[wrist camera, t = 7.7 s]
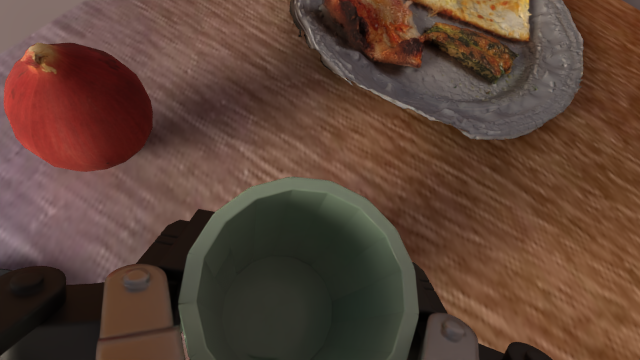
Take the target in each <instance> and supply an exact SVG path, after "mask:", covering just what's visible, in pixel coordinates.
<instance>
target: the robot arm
mask: <svg viewBox="0 0 640 360" xmlns="http://www.w3.org/2000/svg"><path fill="white" fill-rule="evenodd" d="M213 214H215V212H212V211H207V210H202V209H198V210H197V211H196V213H195V214H194V216H193V217H192V218H191V220H190V221H184V220H178V221H176V222H174V223H172V224H170V225H168V226H167V227H166V228H165V229H164V230H163V232H162V233H161V235H159V236H158V238H157V239H156V240H155V243H153V244H152V245H151V246H150V247H149V249H148V250H147V251H146V252H145V253H144V255H143V256H142V257H141V258H140V259H139V261H138V262H137V263H136V264H132V265H127V266H124V267H121V268H119V269H116V270H115V271H113V272H112V273H110V274H109V275H108V276H107V278H106V280H105V282H102V283H94V284H76V285H66V276H65V274H64V273H63V272H62V271H61V270H59V269H56V268H53V267H47V266H33V267H25V268H21V269H17V270H13V271H10V272H8V273H5V274H3V275H1V276H0V360H185V355H184V349H183V343H182V337H181V333H182V331H183V329H182V324H181V319H180V315H179V310H178V305H179V304H178V299H179V294H180V289H181V284H182V279H183V274H184V269H185V264H186V258H187V255H188V254H189V250H190V249H191V247H192V246H193V244H194V243H195V241H196V240H197V238H198V237H199V235H200V233H201V232H202V230H203V229H204V227H205V226H206V224H207V223H208V221H209V220H210V218H211V216H212V215H213ZM412 263H413V266H414V269H415V275H416V286H417V297H418V308H419V315H418V316H419V318H418V321H417V325H416V329H415V332H414V336H413V340H412V343H411V347H410V351H409V354H408V358H407V360H552V359H551V358H550V357H549V356H548V355H546V354H545V353H543V352H542V351H540V350H539V349H537V348H535V347H533V346H531V345H528V344H525V343H521V342H513V343H511V344H509V346H508V348H507V350H506V352H505V354H504V353H501V352H499V351H496V350H494V349H491V348H489V347H486V346H484V345H481V344H479V343H478V339H477V336H476V334H475V333H474V331H473V330H472V329H471V328H470V327H469V326H468V325H467V324H466V323H464V322H463V321H461V320H460V319H458V318H456V317H454V316H452V315H449V314H448V313H447V311H446V310H445V308H444V306H443V304H442V303H441V301H440V299H439V297H438V295H437V294H436V292H435V291H434V288H433V287H432V285H431V283H429V279H428V278H427V276H426V274H425V272H424V271H423V270H422V269H421V268H420V267H419V266H417V265H416V264H415V263H414V262H412Z"/></svg>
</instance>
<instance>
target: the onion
mask: <svg viewBox="0 0 640 360" xmlns="http://www.w3.org/2000/svg"><path fill="white" fill-rule="evenodd" d="M4 109H5V113H6V115H7V117H8V119H9V121H10V124H11V126H12V129H13V131H14V134H15V136H16V138H17V139H18V140H19V141H20V143H21V144H22V145H23V146H24V147H25V148H26V149H28V150H30V151H31V152H33V153H34V154H36V155H37V156H39V157H40V158H42V159H43V160H45V161H46V162H48V163H50V164H51V165H53V166H54V167H60V168H65V169H70V170H75V171H84V172H87V171H95V170H103V169H108V168H110V167H113V166H116V165H118V164H121V163H123V162H126V161H127V160H128V159H129V158H131V157H132V156H133V155H135V154H136V153H137V152H138V151H140V150H141V149H142V147H143V146H144V145H145V143H146V141H147V139H148V137H149V134H150V132H151V130H152V128H153V111H152V106H151V100H150V98H149V96H148V94H147V92H146V90H145V88H144V86H143V85H142V83H141V81H140V80H139V78H138V77H137V75H136V74H135V73H134V72H132V71H131V70H130V69H129V68H128V67H126V66H125V65H124V64H122V63H121V62H120V61H118V60H117V59H116V58H114V57H113V56H112V55H110V54H108V53H106V52H104V51H101V50H97V49H94V48H90V47H86V46H83V45H79V44H75V43H60V44H43V43H36V44H34V45H32V46H31V47H30V48H29V49H27V50H26V52H25V55H24V56H23V57H22V58H21V59H20V60H18V61H17V62H16V63H15V65H14V67H13V68H12V70H11V72H10V74H9V76H8V77H7V79H6V83H5V90H4Z"/></svg>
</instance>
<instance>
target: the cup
mask: <svg viewBox="0 0 640 360" xmlns="http://www.w3.org/2000/svg"><path fill="white" fill-rule="evenodd" d="M178 304H179V305H178V310H179V315H180V319H181V324H182V329H183V334H184V338H185V343H186V348H187V353H188V357H189V358H190V360H407V358H408V354H409V351H410V347H411V343H412V340H413V336H414V332H415V329H416V325H417V321H418V318H419V316H418V315H419V308H418V297H417V286H416V275H415V269H414V266H413V263H412V261H411V259H410V257H409V255H408V253H407V251H406V248H405V246H404V244H403V242H402V240H401V238H400V235H399V233H398V231H397V230H396V228H395V227H394V226H393V225H392V224H391V223H390V222H389V221H388V220H387V218H386V217H385V216H384V215H383V214H382V213H381V212H380V211H379V210H378V209H377V208H376V207H375V206H374V205H373V204H372V203H371V202H370V201H369V200H368V199H366V198H365V197H363V196H361V195H359V194H357V193H355V192H353V191H351V190H349V189H347V188H345V187H343V186H340V185H338V184H336V183H334V182H332V181H331V182H330V181H328V180H319V179H310V178H300V177H287V178H283V179H279V180H275V181H271V182H268V183H264V184H260V185H256V186H252V187H251V188H248V189H247V190H245V191H244V192H242V193H241V194H240V195H238V196H237V197H235V198H234V199H233V200H231V201H230V202H228V203H227V204H226V205H224V206H223V207H221V208H220V209H219V210H217V211H216V212H215V214H213V215H212V216H211V218H210V220H209V221H208V223H207V224H206V226H205V227H204V229H203V230H202V232H201V233H200V235H199V237H198V238H197V240H196V241H195V243H194V244H193V246H192V247H191V249H190V250H189V254H188V255H187V258H186V264H185V269H184V274H183V279H182V284H181V289H180V294H179V299H178Z"/></svg>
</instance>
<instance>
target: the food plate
mask: <svg viewBox="0 0 640 360" xmlns="http://www.w3.org/2000/svg"><path fill="white" fill-rule="evenodd" d="M290 13H291V15H292V16H293V19H294V23H295V25H296V27H297V28H298V29H299V30H300V36H299V37H302V36H301V30H303V31H305V34H304V36H305V38H306V43H307V44H308V46H309V48H313V49H316V50H317V51H318V52H319V53H320V55H321V57H320V58H321V62H322V63H323V65H324V66H325V67H326V68H328V69H329V70H331V71H333V72H334V73H335V74H337V75H339V76H341V77H342V78H344V79H345V80H346V81H348V80H347V79H349V80H350V81H353V82H354V83H356V84H357V85H358V86H360V87H362V88H365V89H366V90H370V91H371V92H373V93H374V94H377V95H379V96H381V97H382V98H384V99H385V100H388V101H390V102H391V103H394V104H396V105H397V106H400V107H402V108H403V109H404V108H405V109H406V108H410V109H412V110H414V111H416V112H417V113H419V114H421V115H423V116H424V117H427V118H429V120H435V121H440V122H443V123H446V124H450V123H451V126H452V125H453V126H454V127H455V128H457V129H458V128H459V129H458V130H460V129H462V130H465V131H467V132H468V133H467V132H465V131H462V130H460V131H461V132H462V133H464V134H465V135H466V136H468V137H469V138H470V139H472V138H473V139H484V140H485V139H486V140H491V139H493V140H494V139H496V140H499V139H501V140H504V139H507V138H508V139H512V138H517V137H519V136H522V135H526V134H528V133H531V132H532V131H533V130H535V129H537V128H539V127H541V126H542V125H543V123H546V121H548V120H549V119H552V118H554V117H555V116H556V115H558V114H559V113H562V112H564V110H565V109H566V107H567V106H568V105H570V102H571V101H572V100H573V98H574V95H575V93H576V92H577V91H578V90H579V88H580V87H579V83H580V81H581V77H582V75H583V54H582V53H583V52H582V51H583V49H584V48H583V43H584V41H583V39H582V37H581V34H580V33H579V31H578V30H577V28H576V27H575V25H576V24H575V23H573V21H572V17H571V14H570V13H571V12H569V9H567V8H566V6H565V4H564V3H563V1H562V0H291V2H290ZM583 77H584V76H583ZM346 78H347V79H346ZM350 81H348V82H349V83H350V84H351V82H350ZM582 81H583V80H582ZM351 85H352V84H351ZM580 86H581V85H580Z"/></svg>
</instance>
